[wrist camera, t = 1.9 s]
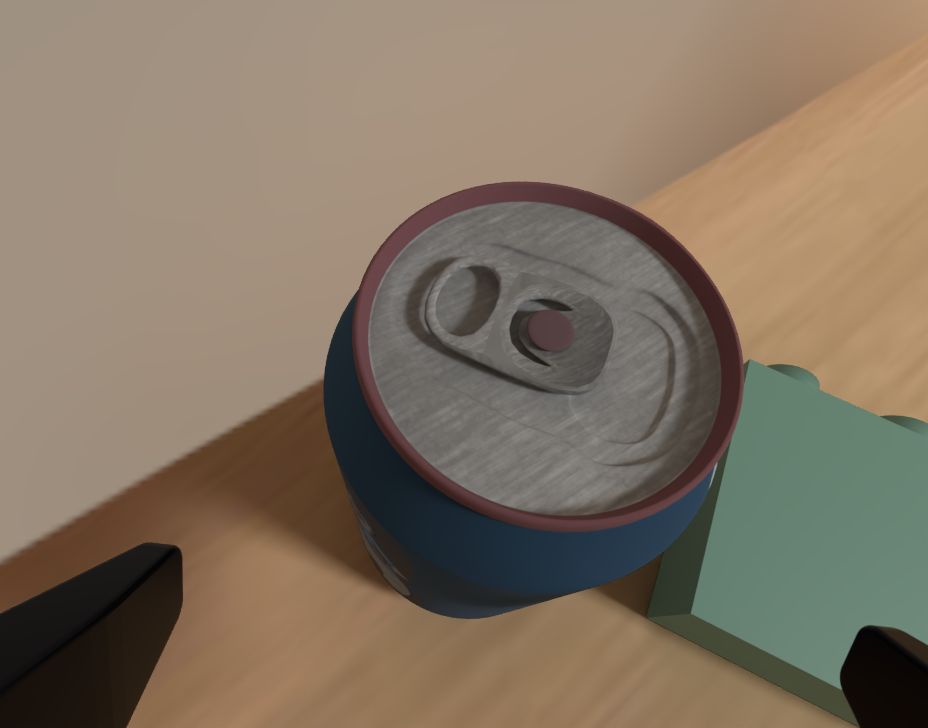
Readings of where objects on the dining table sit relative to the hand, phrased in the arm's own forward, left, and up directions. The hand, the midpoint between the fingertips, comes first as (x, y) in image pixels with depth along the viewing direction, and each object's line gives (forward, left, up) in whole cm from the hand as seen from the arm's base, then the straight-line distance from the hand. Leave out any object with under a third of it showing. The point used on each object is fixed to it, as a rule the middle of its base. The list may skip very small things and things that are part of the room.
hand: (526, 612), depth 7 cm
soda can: (+3, +1, -11) cm, 12 cm away
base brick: (+8, -10, -11) cm, 17 cm away
